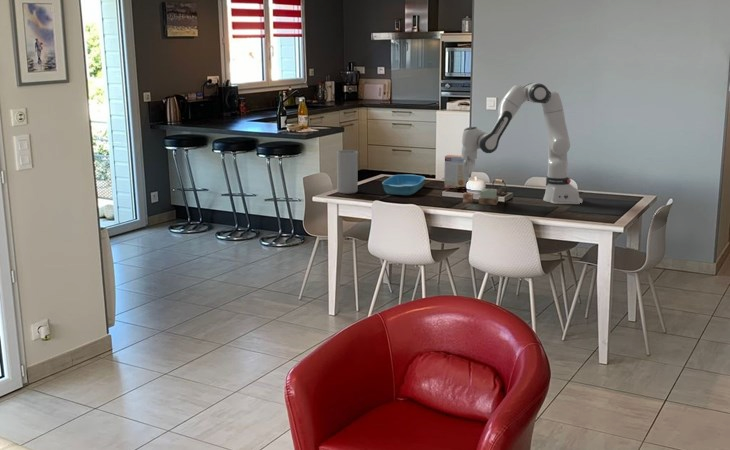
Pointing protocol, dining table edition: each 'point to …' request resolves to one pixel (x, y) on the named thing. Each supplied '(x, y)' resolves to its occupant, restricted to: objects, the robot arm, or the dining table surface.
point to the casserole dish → (403, 184)
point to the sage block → (489, 193)
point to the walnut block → (488, 201)
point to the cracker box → (454, 172)
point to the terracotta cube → (468, 197)
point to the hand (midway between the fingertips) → (468, 179)
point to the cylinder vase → (347, 171)
